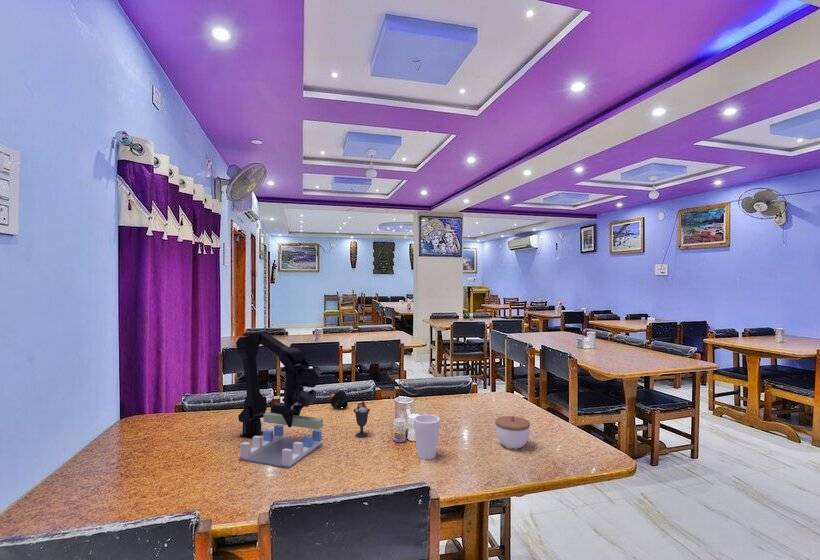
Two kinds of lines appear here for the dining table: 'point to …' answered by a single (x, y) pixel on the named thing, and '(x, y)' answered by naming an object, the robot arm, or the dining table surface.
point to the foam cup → (426, 435)
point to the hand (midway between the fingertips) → (292, 425)
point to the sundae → (361, 418)
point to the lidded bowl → (512, 431)
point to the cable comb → (279, 448)
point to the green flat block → (294, 420)
